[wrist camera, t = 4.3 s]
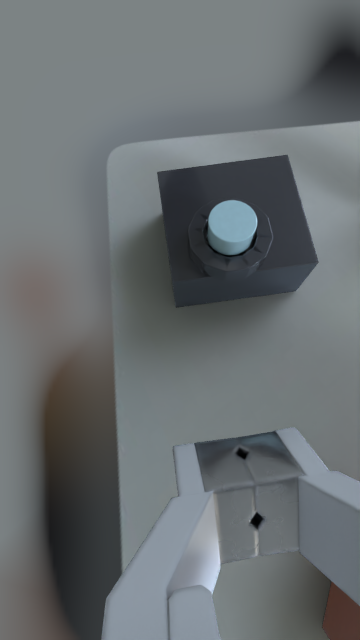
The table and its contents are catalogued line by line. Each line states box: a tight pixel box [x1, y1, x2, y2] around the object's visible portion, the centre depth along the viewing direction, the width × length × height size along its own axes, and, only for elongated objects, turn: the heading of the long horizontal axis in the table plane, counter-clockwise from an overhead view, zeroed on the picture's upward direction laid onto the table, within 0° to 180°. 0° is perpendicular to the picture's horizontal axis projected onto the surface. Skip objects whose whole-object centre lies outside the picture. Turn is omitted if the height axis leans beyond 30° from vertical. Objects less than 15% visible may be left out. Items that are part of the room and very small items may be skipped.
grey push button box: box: [157, 155, 318, 307], centre depth 31 cm, size 12×12×8 cm
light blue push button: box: [207, 200, 257, 255], centre depth 25 cm, size 4×4×2 cm
